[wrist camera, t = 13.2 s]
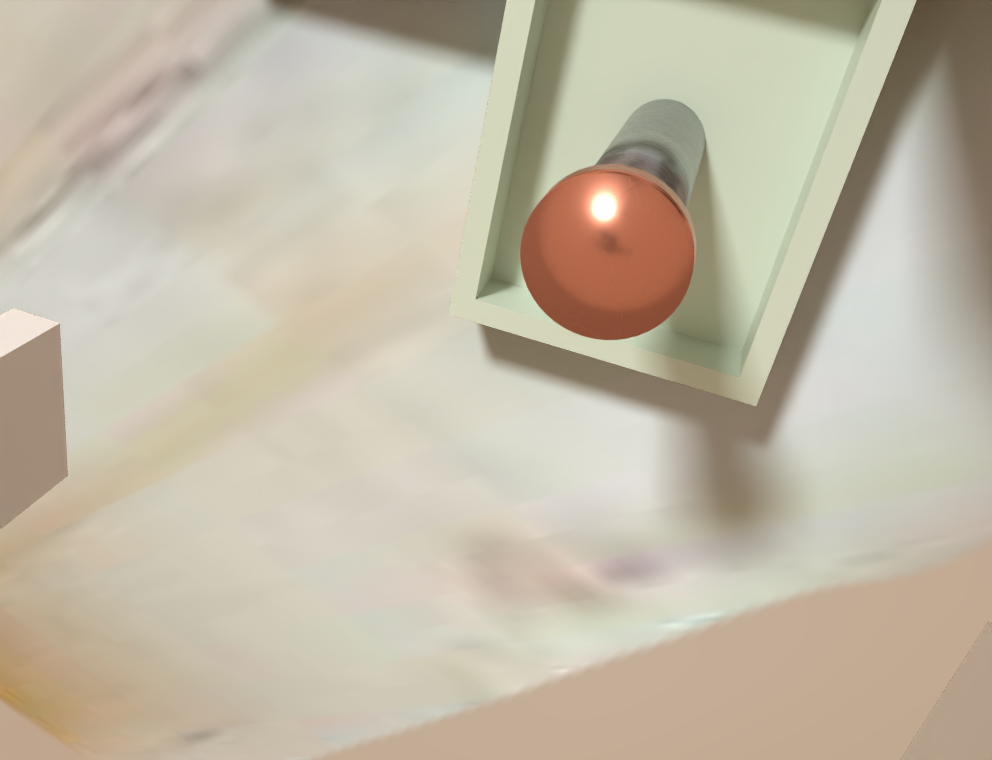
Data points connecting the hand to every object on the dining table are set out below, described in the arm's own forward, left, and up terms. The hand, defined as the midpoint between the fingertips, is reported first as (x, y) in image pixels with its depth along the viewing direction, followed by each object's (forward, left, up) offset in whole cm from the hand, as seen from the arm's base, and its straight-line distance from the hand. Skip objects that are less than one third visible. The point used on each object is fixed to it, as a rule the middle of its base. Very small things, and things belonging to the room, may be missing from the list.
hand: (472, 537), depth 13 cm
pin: (0, 0, -26) cm, 26 cm away
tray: (0, 0, -27) cm, 27 cm away
